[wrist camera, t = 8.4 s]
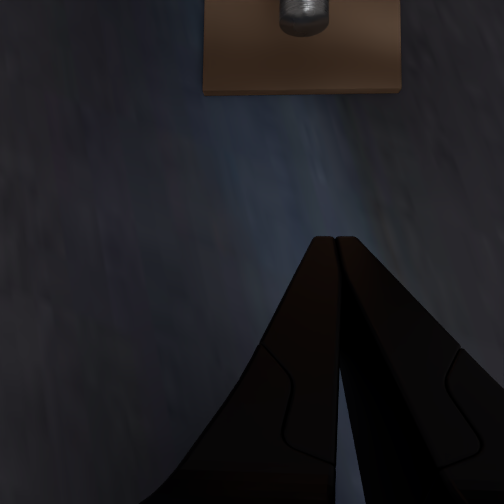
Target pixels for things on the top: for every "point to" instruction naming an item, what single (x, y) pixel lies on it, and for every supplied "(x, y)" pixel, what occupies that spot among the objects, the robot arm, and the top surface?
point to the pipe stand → (301, 50)
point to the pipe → (303, 17)
